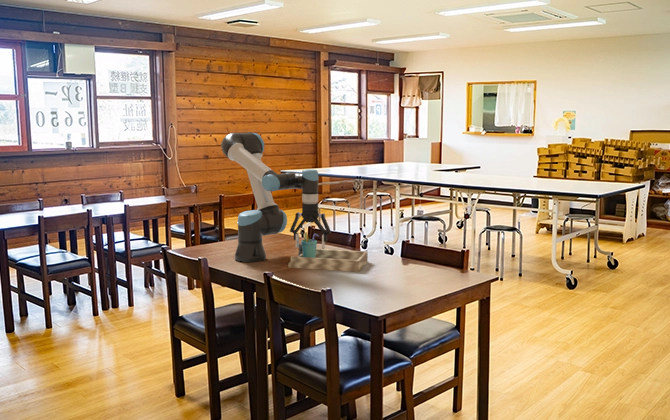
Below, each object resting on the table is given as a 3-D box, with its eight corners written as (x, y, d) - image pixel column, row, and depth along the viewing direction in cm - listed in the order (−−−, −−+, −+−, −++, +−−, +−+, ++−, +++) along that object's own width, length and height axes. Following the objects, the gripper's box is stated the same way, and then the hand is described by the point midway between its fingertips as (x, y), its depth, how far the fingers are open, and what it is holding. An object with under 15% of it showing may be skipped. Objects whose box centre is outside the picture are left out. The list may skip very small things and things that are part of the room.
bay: (288, 267, 290) (288, 256, 289) (300, 258, 309) (300, 248, 308) (359, 271, 282) (359, 260, 281) (367, 261, 301) (367, 251, 301)
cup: (325, 264, 294) (325, 233, 292) (312, 267, 290) (312, 235, 287) (308, 259, 305) (308, 229, 303) (295, 261, 301) (295, 230, 299)
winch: (298, 256, 313) (297, 241, 312) (300, 254, 318) (300, 239, 317) (311, 257, 311) (311, 242, 310) (314, 255, 316) (314, 240, 315)
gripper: (282, 202, 293) (283, 247, 296) (333, 204, 287) (333, 250, 290) (287, 200, 300) (288, 244, 303) (337, 202, 294) (337, 247, 297)
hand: (310, 247), depth 296 cm, fingers open, 12 cm apart
